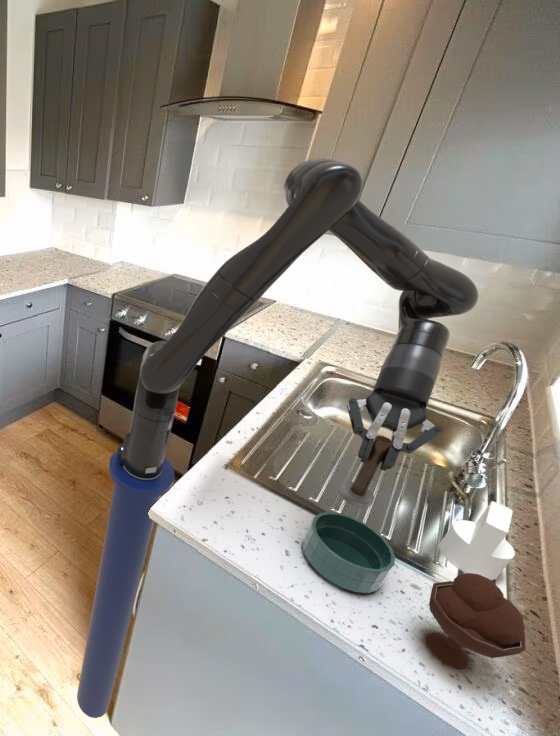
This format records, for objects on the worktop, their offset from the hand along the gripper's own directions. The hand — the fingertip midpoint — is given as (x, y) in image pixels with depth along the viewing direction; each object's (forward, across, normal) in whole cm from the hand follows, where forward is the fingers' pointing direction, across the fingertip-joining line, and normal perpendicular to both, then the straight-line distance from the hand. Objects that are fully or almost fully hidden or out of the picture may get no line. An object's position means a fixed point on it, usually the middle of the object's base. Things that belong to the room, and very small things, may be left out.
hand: (373, 465), depth 71 cm
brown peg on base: (+5, 0, +8) cm, 9 cm away
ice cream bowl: (+21, +18, +14) cm, 31 cm away
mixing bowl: (+16, +2, +19) cm, 25 cm away
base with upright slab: (+3, +22, +32) cm, 40 cm away
